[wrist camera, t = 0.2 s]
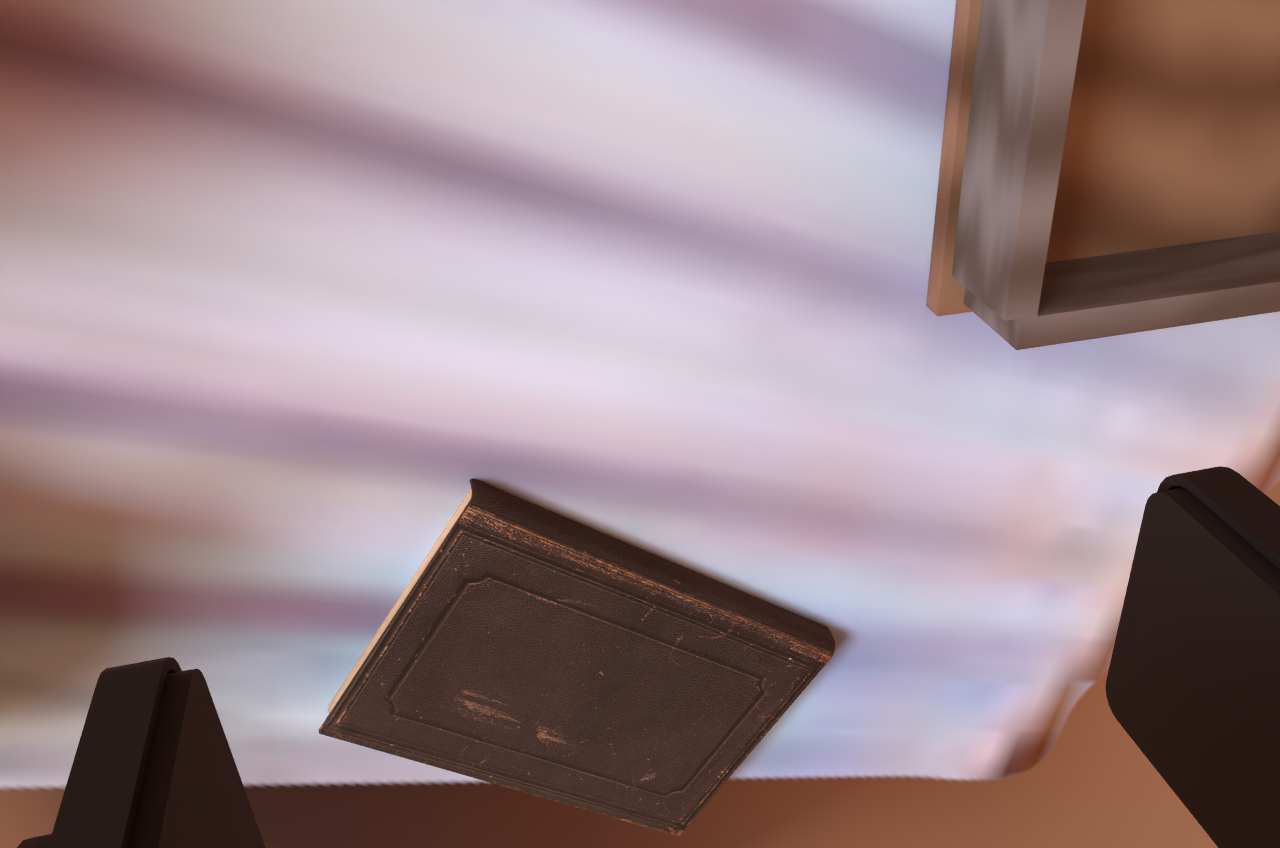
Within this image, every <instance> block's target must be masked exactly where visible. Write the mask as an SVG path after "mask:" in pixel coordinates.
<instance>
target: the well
mask: <svg viewBox="0 0 1280 848" xmlns="http://www.w3.org/2000/svg"><path fill="white" fill-rule="evenodd" d="M927 307H928V308H929V309H930V310H931V311H932V312H933V313H935V314H936V315H937V316H943V315H950V314H957V313H964V312H971V311H973V312H974V313H975V314H976V315H977V316H978V317H980V318H981V319H982V320H983V321H984V322H985V323H986V324H988V325H989V326H990V327H991V328H992V329H993V330H994V331H995V332H997V333H998V334H999V335H1000V336H1001V337H1002V338H1003V339H1004V340H1006V341H1007V342H1008V343H1009V344H1010V345H1011V346H1012V347H1014V348H1015V349H1016V350H1020V349H1027V348H1034V347H1040V346H1047V345H1054V344H1061V343H1067V342H1074V341H1081V340H1088V339H1095V338H1101V337H1108V336H1115V335H1122V334H1129V333H1135V332H1142V331H1149V330H1156V329H1162V328H1169V327H1176V326H1183V325H1190V324H1196V323H1203V322H1210V321H1217V320H1223V319H1230V318H1237V317H1244V316H1251V315H1257V314H1264V313H1271V312H1278V311H1280V0H956V11H955V21H954V31H953V41H952V51H951V61H950V72H949V82H948V92H947V102H946V112H945V122H944V133H943V143H942V153H941V163H940V173H939V184H938V194H937V204H936V214H935V224H934V234H933V245H932V255H931V265H930V275H929V285H928V295H927Z"/></svg>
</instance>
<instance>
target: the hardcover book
mask: <svg viewBox="0 0 1280 848" xmlns="http://www.w3.org/2000/svg"><path fill="white" fill-rule="evenodd" d="M470 483H471V489H470V491H469V492H468V494H467V495H466V497H465V498H464V500H463V501H462V503H461V504H460V506H459V508H458V509H457V511H456V512H455V514H454V515H453V517H452V518H451V520H450V521H449V523H448V524H447V526H446V527H445V529H444V530H443V532H442V533H441V535H440V537H439V538H438V540H437V541H436V543H435V544H434V546H433V547H432V549H431V550H430V552H429V553H428V555H427V556H426V558H425V559H424V561H423V562H422V564H421V565H420V567H419V569H418V570H417V572H416V573H415V575H414V576H413V578H412V579H411V581H410V582H409V584H408V585H407V587H406V588H405V590H404V591H403V593H402V594H401V596H400V598H399V599H398V601H397V602H396V604H395V605H394V607H393V608H392V610H391V611H390V613H389V614H388V616H387V617H386V619H385V620H384V622H383V623H382V625H381V626H380V628H379V630H378V631H377V633H376V634H375V636H374V637H373V639H372V640H371V642H370V643H369V645H368V646H367V648H366V649H365V651H364V652H363V654H362V655H361V657H360V659H359V660H358V662H357V663H356V665H355V666H354V668H353V669H352V671H351V672H350V674H349V675H348V677H347V678H346V680H345V681H344V683H343V684H342V686H341V687H340V689H339V691H338V692H337V694H336V695H335V697H334V698H333V700H332V701H331V703H330V704H329V708H328V711H329V715H328V717H327V718H326V720H325V721H324V723H323V724H322V726H321V728H320V729H319V734H323V735H326V736H330V737H333V738H337V739H340V740H344V741H347V742H351V743H354V744H358V745H361V746H365V747H368V748H372V749H375V750H379V751H382V752H386V753H389V754H393V755H396V756H400V757H403V758H407V759H410V760H414V761H417V762H421V763H424V764H428V765H431V766H435V767H438V768H442V769H445V770H449V771H452V772H456V773H459V774H463V775H466V776H470V777H473V778H477V779H480V780H484V781H487V782H491V783H494V784H498V785H502V786H505V787H508V788H512V789H516V790H519V791H522V792H526V793H529V794H533V795H536V796H540V797H543V798H547V799H551V800H554V801H557V802H561V803H564V804H568V805H571V806H575V807H578V808H582V809H586V810H589V811H592V812H596V813H599V814H603V815H606V816H610V817H613V818H617V819H621V820H624V821H627V822H631V823H634V824H638V825H642V826H645V827H648V828H652V829H655V830H659V831H663V832H666V833H669V834H673V835H676V836H680V834H681V833H682V832H683V831H684V830H685V828H686V827H687V826H688V825H689V824H690V823H691V821H692V820H693V819H694V818H695V817H696V815H697V814H698V813H699V812H700V811H701V810H702V809H703V807H704V806H705V805H706V804H707V803H708V801H709V800H710V799H711V798H712V797H713V795H714V794H715V793H716V792H717V791H718V790H719V789H720V787H721V786H722V785H723V784H724V783H725V781H726V780H727V779H728V778H729V777H730V776H731V774H732V773H733V772H734V771H735V770H736V769H737V767H738V766H739V765H740V764H741V763H742V762H743V760H744V759H745V758H746V757H747V756H748V755H749V753H750V752H751V751H752V750H753V749H754V747H755V746H756V745H757V744H758V743H759V742H760V740H761V739H762V738H763V737H764V736H765V735H766V733H767V732H768V731H769V730H770V729H771V728H772V726H773V725H774V724H775V723H776V722H777V720H778V719H779V718H780V717H781V716H782V715H783V713H784V712H785V711H786V710H787V709H788V708H789V706H790V705H791V704H792V703H793V702H794V701H795V699H796V698H797V697H798V696H799V695H800V694H801V692H802V691H803V690H804V689H805V688H806V686H807V685H808V684H809V683H810V682H811V681H812V679H813V678H814V677H815V676H816V675H817V674H818V672H819V671H820V670H821V669H822V668H823V667H824V665H825V664H826V663H827V662H828V661H829V659H830V658H831V657H832V656H833V653H834V649H835V641H834V638H833V636H832V634H831V632H830V631H829V629H828V628H827V627H825V626H822V625H820V624H817V623H815V622H813V621H810V620H808V619H806V618H803V617H801V616H798V615H796V614H794V613H791V612H789V611H786V610H784V609H782V608H779V607H777V606H775V605H772V604H770V603H767V602H765V601H763V600H760V599H758V598H756V597H753V596H751V595H748V594H746V593H744V592H741V591H739V590H737V589H734V588H732V587H729V586H727V585H725V584H722V583H720V582H717V581H715V580H713V579H710V578H708V577H706V576H703V575H701V574H698V573H696V572H694V571H691V570H689V569H687V568H684V567H682V566H679V565H677V564H675V563H672V562H670V561H668V560H665V559H663V558H660V557H658V556H656V555H653V554H651V553H648V552H646V551H644V550H641V549H639V548H637V547H634V546H632V545H629V544H627V543H625V542H622V541H620V540H618V539H615V538H613V537H610V536H608V535H606V534H603V533H601V532H599V531H596V530H594V529H591V528H589V527H587V526H584V525H582V524H579V523H577V522H575V521H572V520H570V519H568V518H565V517H563V516H560V515H558V514H556V513H553V512H551V511H549V510H546V509H544V508H541V507H539V506H537V505H534V504H532V503H529V502H527V501H525V500H522V499H520V498H518V497H515V496H513V495H510V494H508V493H506V492H503V491H501V490H499V489H496V488H494V487H491V486H489V485H487V484H484V483H482V482H480V481H477V480H475V479H470Z"/></svg>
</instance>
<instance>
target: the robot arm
mask: <svg viewBox="0 0 1280 848" xmlns="http://www.w3.org/2000/svg"><path fill="white" fill-rule="evenodd" d="M1106 695H1107V699H1108V703H1109V706H1110V708H1111V710H1112V713H1113V715H1114V716H1115V718H1116V719H1117V721H1118V722H1119V723H1120V724H1121V726H1122V727H1123V728H1124V729H1125V731H1126V732H1127V733H1128V734H1129V736H1130V737H1131V738H1132V739H1133V741H1134V742H1135V743H1136V744H1137V746H1138V747H1139V748H1140V750H1141V751H1142V752H1143V753H1144V754H1145V756H1146V757H1147V758H1148V760H1149V761H1150V762H1151V763H1152V765H1153V766H1154V767H1155V768H1156V770H1157V771H1158V772H1159V773H1160V775H1161V776H1162V777H1163V778H1164V780H1165V781H1166V782H1167V784H1168V785H1169V786H1170V787H1171V788H1172V790H1173V791H1174V792H1175V794H1176V795H1177V796H1178V797H1179V798H1180V800H1181V801H1182V802H1183V804H1184V805H1185V806H1186V807H1187V808H1188V810H1189V811H1190V812H1191V814H1192V815H1193V816H1194V818H1195V819H1196V820H1197V821H1198V823H1199V824H1200V825H1201V826H1202V827H1203V829H1204V830H1205V831H1206V833H1207V834H1208V835H1209V836H1210V838H1211V839H1212V840H1213V841H1214V843H1215V844H1216V845H1217V846H1218V848H1280V506H1279V505H1277V504H1276V503H1275V502H1274V501H1272V500H1271V499H1270V498H1269V497H1267V496H1266V495H1265V494H1264V493H1262V492H1261V491H1260V490H1259V489H1257V488H1256V487H1255V486H1254V485H1252V484H1251V483H1250V482H1249V481H1247V480H1246V479H1245V478H1244V477H1242V476H1241V475H1240V474H1239V473H1237V472H1236V471H1234V470H1232V469H1230V468H1227V467H1214V468H1209V469H1203V470H1198V471H1192V472H1187V473H1181V474H1176V475H1172V476H1169V477H1166V478H1165V479H1164V480H1163V481H1162V483H1161V484H1160V486H1159V488H1158V491H1157V493H1154V494H1152V495H1151V496H1150V497H1149V498H1148V500H1147V503H1146V506H1145V510H1144V515H1143V519H1142V524H1141V528H1140V532H1139V537H1138V541H1137V546H1136V550H1135V555H1134V559H1133V564H1132V568H1131V573H1130V577H1129V582H1128V586H1127V591H1126V595H1125V600H1124V604H1123V609H1122V613H1121V618H1120V622H1119V627H1118V631H1117V636H1116V640H1115V645H1114V649H1113V654H1112V658H1111V662H1110V667H1109V671H1108V676H1107V681H1106ZM17 848H265V845H264V842H263V840H262V837H261V834H260V831H259V829H258V826H257V823H256V820H255V817H254V814H253V812H252V809H251V806H250V803H249V801H248V798H247V795H246V792H245V789H244V787H243V784H242V781H241V778H240V775H239V773H238V770H237V767H236V764H235V761H234V759H233V756H232V753H231V750H230V748H229V745H228V742H227V739H226V736H225V734H224V731H223V728H222V725H221V722H220V720H219V717H218V714H217V711H216V708H215V706H214V703H213V700H212V697H211V695H210V692H209V689H208V686H207V683H206V681H205V678H204V676H203V674H202V672H201V671H200V670H199V669H192V670H187V671H181V668H180V666H179V664H178V663H177V661H176V660H175V659H174V658H171V657H167V658H162V659H156V660H151V661H145V662H140V663H134V664H129V665H123V666H118V667H112V668H107V669H105V670H104V671H103V672H102V673H101V674H100V677H99V679H98V681H97V684H96V688H95V691H94V694H93V698H92V701H91V704H90V708H89V711H88V715H87V718H86V721H85V725H84V728H83V731H82V735H81V738H80V741H79V745H78V748H77V752H76V755H75V758H74V762H73V765H72V768H71V772H70V775H69V778H68V782H67V785H66V789H65V792H64V795H63V799H62V802H61V805H60V809H59V812H58V816H57V819H56V822H55V826H54V829H53V833H52V834H49V835H44V836H39V837H34V838H30V839H26V840H23V841H22V842H21V844H20V845H19V846H18V847H17Z"/></svg>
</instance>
